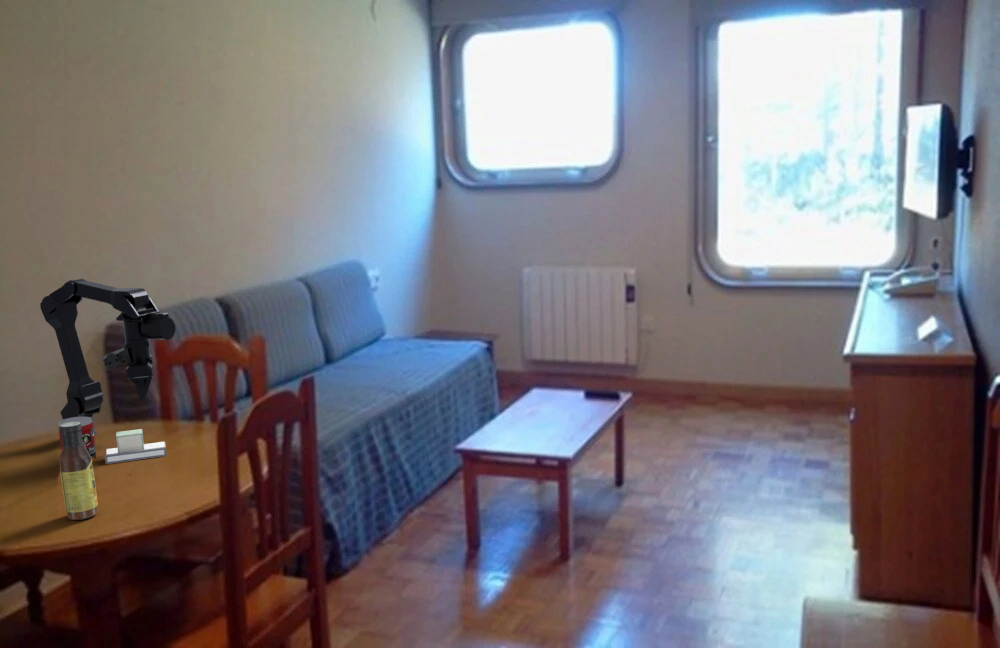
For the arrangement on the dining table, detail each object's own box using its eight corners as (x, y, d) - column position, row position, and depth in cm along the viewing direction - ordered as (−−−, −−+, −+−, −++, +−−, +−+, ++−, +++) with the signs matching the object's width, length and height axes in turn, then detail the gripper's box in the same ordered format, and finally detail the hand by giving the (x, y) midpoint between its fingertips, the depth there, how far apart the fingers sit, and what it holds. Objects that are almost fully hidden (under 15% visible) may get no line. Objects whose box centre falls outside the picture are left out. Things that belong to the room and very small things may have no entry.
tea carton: (118, 455, 232) (116, 432, 231) (144, 451, 234) (142, 428, 233) (118, 460, 228) (116, 436, 227) (144, 456, 230) (142, 433, 229)
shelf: (107, 452, 238) (105, 441, 237) (165, 445, 243) (163, 434, 242) (105, 467, 226) (104, 456, 225) (167, 459, 231) (165, 447, 230)
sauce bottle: (104, 514, 195) (93, 423, 191) (74, 524, 190) (63, 430, 187) (89, 507, 199) (79, 418, 196) (60, 516, 195) (49, 424, 191)
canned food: (73, 471, 224) (68, 426, 222) (56, 465, 229) (51, 422, 227) (103, 462, 230) (98, 419, 228) (86, 456, 235) (81, 414, 233)
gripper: (104, 334, 244) (110, 392, 247) (101, 347, 227) (107, 409, 230) (149, 330, 248) (154, 387, 251) (149, 343, 231) (155, 404, 234)
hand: (142, 397), depth 241 cm, fingers open, 9 cm apart
